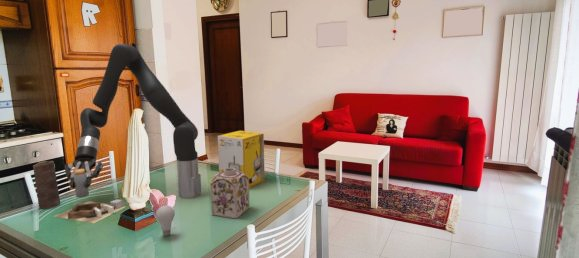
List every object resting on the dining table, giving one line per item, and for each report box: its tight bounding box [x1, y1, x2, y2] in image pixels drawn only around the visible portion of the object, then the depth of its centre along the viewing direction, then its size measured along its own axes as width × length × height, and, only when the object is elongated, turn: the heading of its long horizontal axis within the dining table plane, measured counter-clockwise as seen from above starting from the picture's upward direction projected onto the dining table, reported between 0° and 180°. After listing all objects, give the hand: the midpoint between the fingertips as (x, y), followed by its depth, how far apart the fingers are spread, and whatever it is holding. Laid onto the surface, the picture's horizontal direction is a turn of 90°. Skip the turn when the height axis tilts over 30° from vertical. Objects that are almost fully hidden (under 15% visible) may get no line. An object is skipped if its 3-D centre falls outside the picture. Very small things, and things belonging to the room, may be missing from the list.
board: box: [53, 200, 126, 224], centre depth 137 cm, size 20×16×1 cm
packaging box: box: [217, 130, 266, 189], centre depth 172 cm, size 16×16×25 cm
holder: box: [67, 202, 101, 220], centre depth 135 cm, size 9×9×2 cm
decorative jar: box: [210, 168, 250, 219], centre depth 137 cm, size 12×12×18 cm
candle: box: [32, 160, 61, 210], centre depth 142 cm, size 8×7×20 cm
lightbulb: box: [155, 205, 176, 237], centre depth 118 cm, size 6×6×11 cm
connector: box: [73, 169, 90, 199], centre depth 133 cm, size 4×4×10 cm
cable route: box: [86, 199, 124, 218], centre depth 136 cm, size 7×14×3 cm, turn 162°
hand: (79, 187), depth 132 cm, fingers closed on connector, 4 cm apart
